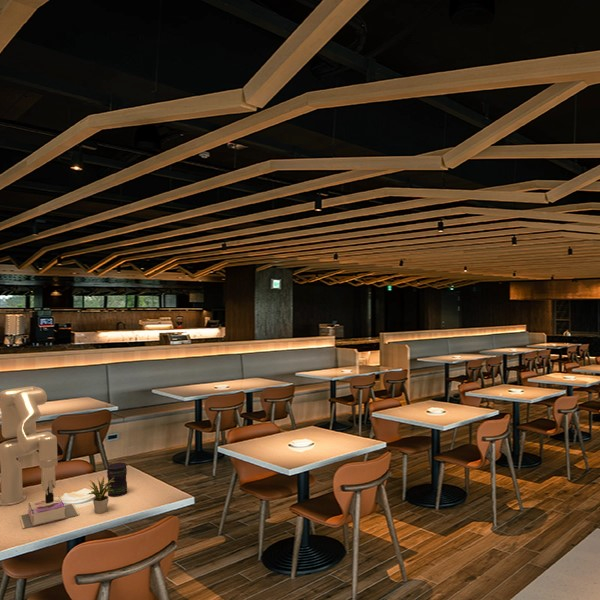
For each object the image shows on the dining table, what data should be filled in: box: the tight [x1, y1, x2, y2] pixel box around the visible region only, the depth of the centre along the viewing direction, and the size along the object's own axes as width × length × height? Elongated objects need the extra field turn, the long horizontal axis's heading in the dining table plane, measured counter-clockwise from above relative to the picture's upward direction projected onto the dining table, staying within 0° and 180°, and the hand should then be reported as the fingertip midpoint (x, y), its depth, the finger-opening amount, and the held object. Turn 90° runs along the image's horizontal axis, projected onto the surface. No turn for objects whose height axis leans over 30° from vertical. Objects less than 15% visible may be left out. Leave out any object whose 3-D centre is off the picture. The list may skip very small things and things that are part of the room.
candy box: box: [27, 495, 66, 527], centre depth 239 cm, size 14×6×16 cm
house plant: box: [87, 476, 114, 514], centre depth 244 cm, size 14×14×16 cm
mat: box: [18, 502, 80, 530], centre depth 240 cm, size 16×24×1 cm
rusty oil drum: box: [106, 462, 128, 498], centre depth 267 cm, size 10×10×15 cm
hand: (49, 502), depth 231 cm, fingers closed
